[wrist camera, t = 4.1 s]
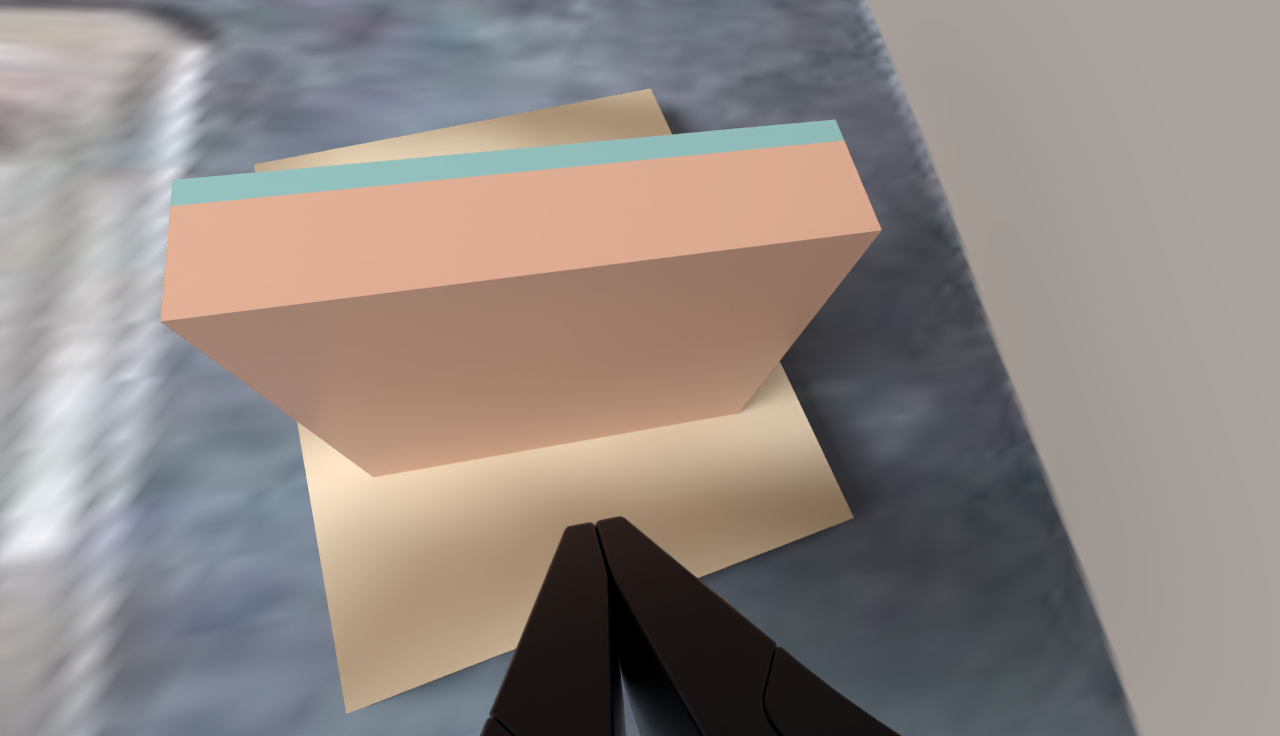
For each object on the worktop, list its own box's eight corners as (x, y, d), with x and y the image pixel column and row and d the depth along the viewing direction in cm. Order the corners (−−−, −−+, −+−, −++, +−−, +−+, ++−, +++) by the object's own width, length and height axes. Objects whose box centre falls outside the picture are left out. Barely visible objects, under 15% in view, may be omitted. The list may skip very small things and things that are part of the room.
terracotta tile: (738, 413, 16) (881, 229, 8) (373, 477, 14) (160, 321, 7) (718, 343, 16) (835, 120, 9) (369, 397, 15) (172, 179, 8)
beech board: (834, 525, 16) (854, 517, 15) (364, 706, 14) (346, 713, 12) (646, 116, 21) (650, 88, 20) (273, 192, 18) (254, 164, 17)
